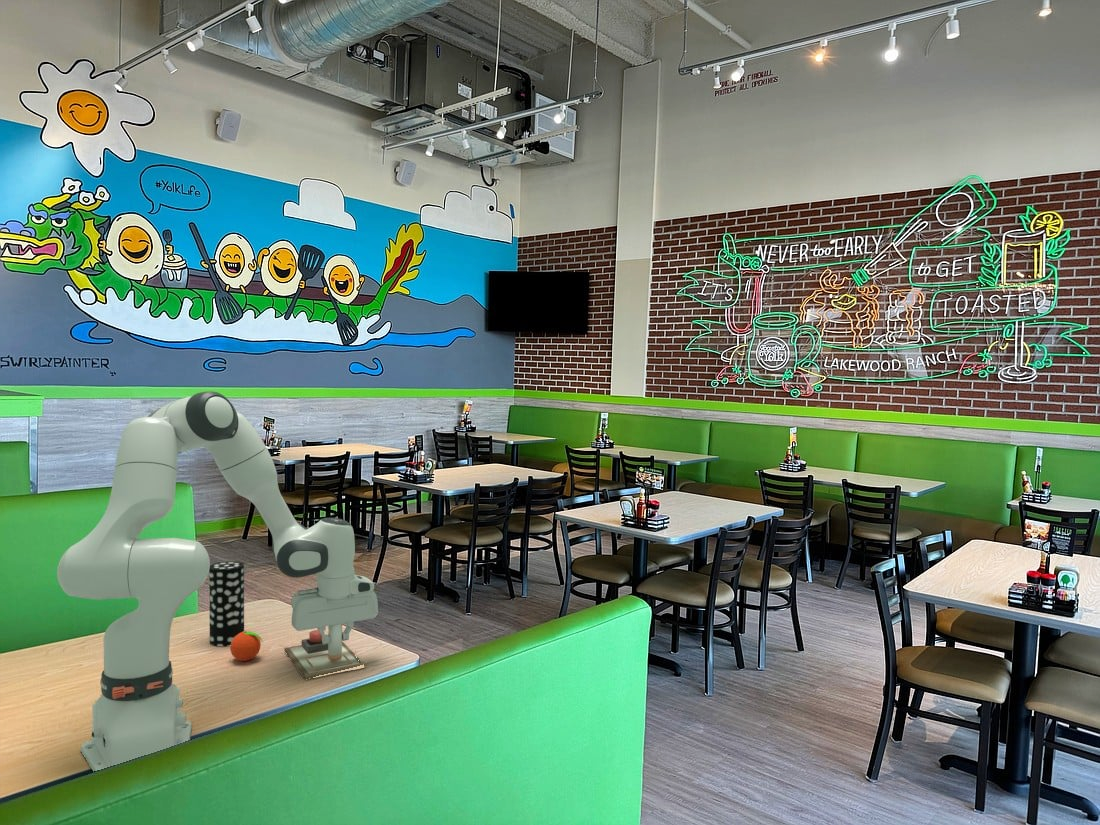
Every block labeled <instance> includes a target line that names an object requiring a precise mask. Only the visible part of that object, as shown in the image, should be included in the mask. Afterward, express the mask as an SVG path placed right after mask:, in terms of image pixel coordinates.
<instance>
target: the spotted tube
mask: <svg viewBox="0 0 1100 825" xmlns="http://www.w3.org/2000/svg"><path fill="white" fill-rule="evenodd" d="M208 576H209V577H208V578H209V584H208V585H209V587H208V588H209V589H208V590H209V591H208V592H209V593H208V594H209V595H208V596H209V605H208V606H209V644H210V645H211V644H212V645H211V646H213V645H214V646H213V647H219V646H224V647H228V646H227V645H231V642H232V640H233V639H234V637H235V636H236V635H238V634H239V633H241V632H245V563H243V562H241V561H235V560H234V561H229V560H228V561H221V562H216V563H212V564H210V569H209V573H208Z"/></svg>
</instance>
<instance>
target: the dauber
mask: <svg viewBox="0 0 1100 825" xmlns="http://www.w3.org/2000/svg"><path fill="white" fill-rule="evenodd" d="M327 627H328V633H327V634H328V635H329V636H330V643H329V644H328V659H329V660H339V659H341V658H342V632H343V624H337V625H331V626H327Z"/></svg>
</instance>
